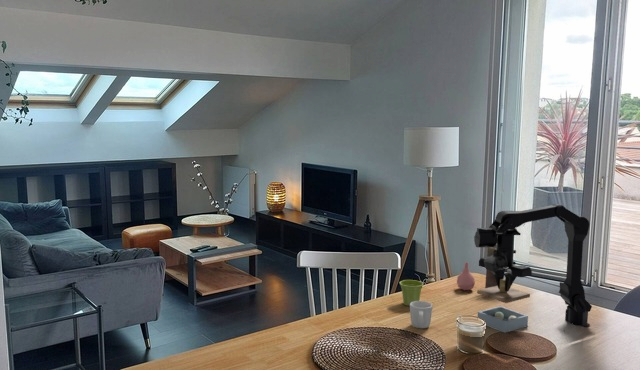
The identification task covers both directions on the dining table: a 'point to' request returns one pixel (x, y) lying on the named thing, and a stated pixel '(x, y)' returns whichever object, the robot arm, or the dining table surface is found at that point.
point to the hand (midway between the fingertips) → (503, 290)
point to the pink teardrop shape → (465, 279)
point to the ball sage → (499, 315)
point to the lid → (503, 293)
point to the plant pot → (411, 291)
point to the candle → (489, 275)
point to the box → (503, 324)
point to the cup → (420, 314)
